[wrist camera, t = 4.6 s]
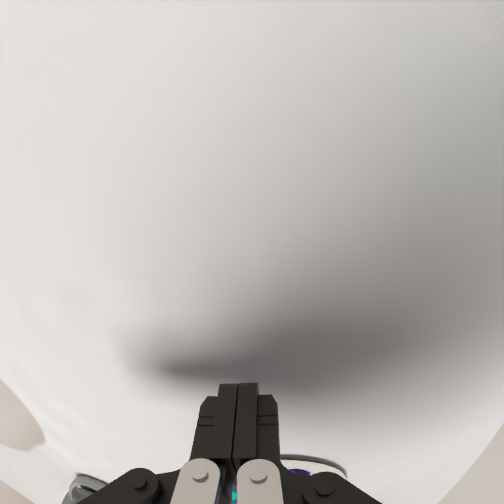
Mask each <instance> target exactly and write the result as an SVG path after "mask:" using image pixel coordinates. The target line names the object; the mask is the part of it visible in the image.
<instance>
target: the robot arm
mask: <svg viewBox="0 0 504 504" xmlns="http://www.w3.org/2000/svg"><path fill="white" fill-rule="evenodd" d="M233 485H237V504H382V503H380V502H378V501H377V500H375V499H374V498H372V497H371V496H369V495H368V494H366V493H365V492H363V491H362V490H360V489H359V488H357V487H356V486H354V485H353V484H351V483H350V482H348V481H347V480H346V479H344V478H343V477H341V476H340V475H338V474H336V473H333V472H327V471H326V472H319V473H316V474H314V475H312V476H309V475H303V474H298V473H294V472H292V471H290V470H288V469H286V468H285V467H284V466H283V464H282V463H281V461H280V442H279V421H278V408H277V403H276V401H275V399H274V398H273V396H272V395H271V394H270V395H260V394H259V386H258V382H257V383H240V384H238V383H235V384H220V386H219V391H218V396H208V397H207V398H206V399H205V401H204V402H203V403H202V405H201V407H200V412H199V418H198V421H197V427H196V431H195V436H194V441H193V446H192V451H191V456H190V459H189V461H188V462H187V463H186V464H184V465H183V467H182V468H181V469H179V470H177V471H173V472H168V473H162V474H154V473H153V472H152V471H150V470H148V469H145V468H135V469H132V470H130V471H128V472H127V473H125V474H124V475H122V476H120V477H119V478H117V479H116V480H114V481H113V482H111V483H109V484H108V485H106V486H105V487H103V488H101V489H100V490H98V491H96V492H95V493H93V494H91V495H90V496H88V497H86V498H85V499H83V500H81V501H79V502H78V503H76V504H232V491H233Z"/></svg>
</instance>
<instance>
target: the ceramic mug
mask: <svg viewBox="0 0 504 504" xmlns="http://www.w3.org/2000/svg"><path fill="white" fill-rule="evenodd" d="M78 485H85V486H88V487H90V488H92V489H95V490H97V491H98V490H100V489H101V488H103V487H105V486H106V484H104V483H103V482H101V481H99V480H97V479H94V478H91V477H88V476H79V477H77V478H76V479H75V480H74V481H73V482H72V484H71V485H70V488H69V492H68V493H67V494H66V496H65V498H64V500H63V502H62V504H76V503H78V502H79V501H81V500H83V499H85V498H86V497H88V496H90V495H91V494H93V493H95V492H92V491H89V490H86V489H83V488H79V487H77V486H78Z"/></svg>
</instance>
